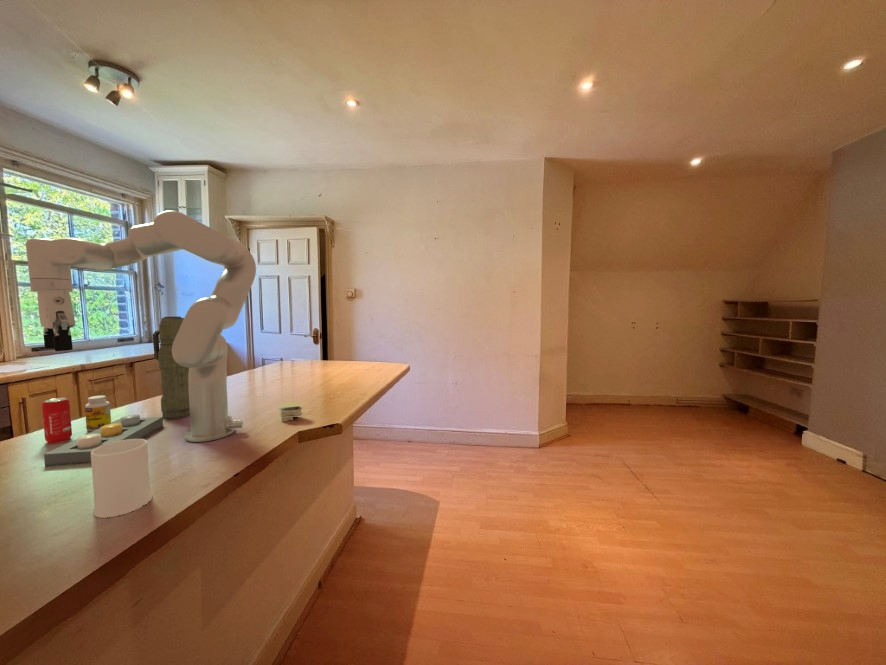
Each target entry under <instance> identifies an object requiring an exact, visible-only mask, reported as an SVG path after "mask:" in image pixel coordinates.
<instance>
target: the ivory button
mask: <svg viewBox="0 0 886 665" xmlns="http://www.w3.org/2000/svg"><path fill="white" fill-rule="evenodd" d="M76 439H77V448H78V449H80V448H94V447H96V446H98V445H100V444H102V441H101V434H89V435H86V434H85V435H82V436H79V437H77V438H76Z"/></svg>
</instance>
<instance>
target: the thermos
mask: <svg viewBox="0 0 886 665" xmlns="http://www.w3.org/2000/svg"><path fill="white" fill-rule="evenodd" d="M184 318H185V317H181V316H163V317H162V318H160V322H159V325H158V330H155V331H154V332H153V333H152V341H153V342H152V343H153V353H154V356H153V357H154V359H155V360H157V361H158V368H159V369H160V373H161V374H160V375H161V389H162V390H161V392H162V395H161V398H160V407H161V408H160V409H161V410H160V411H161V412H162V416H161V417H163V420H176V419H177V420H178V419H183V418H187V417H190V405H189V383H188V375H189V368H187V367H183V366H181V365H179V364H178V363H177V362H176V361H175V360H174V358H173V356H172V345H173V342H174V340H175V337H176V335H177V333H178V331H179V329H180V326H181V324H182V322H183V320H184Z"/></svg>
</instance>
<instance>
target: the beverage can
mask: <svg viewBox="0 0 886 665" xmlns="http://www.w3.org/2000/svg"><path fill="white" fill-rule="evenodd" d="M41 408H42V410H41V411H42V419H43V432H44V434H43V435H44V440H45V441H46V442H47V444H49V445H52V444H59V443H63V442H67V441H69V440H70V439H71V437H72V435H73V430H72V417H71V415H72V414H71V404H70V400H69V398H68V397H56V398H55V397H54V398H50V399H46V400H43V401H42V404H41Z"/></svg>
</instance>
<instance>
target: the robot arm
mask: <svg viewBox="0 0 886 665" xmlns="http://www.w3.org/2000/svg"><path fill="white" fill-rule="evenodd" d="M181 250H184V251H186V252H188V253H191V254H193V255H195V256H197V257H199V258H201V259H204V260H205V261H207V262H210V263H213V264H217V265H219V266H220V265H221V266H223V267H224V270H223V272H222V274H221V275H220V277H219V278H218V280H217V282H216V283H215V286H214V289H213V291H212V292H211V294H210V296H207V297H206V296H205V297H202V298H199V299H197V300H196V301H195V302H193V303H192V304H191V305H190V307H189V308H188V310H186V314H185V316H184V317H183V318H184V320H183V322H182V324H181V326H180V329H179V331H178V333H177V335H176V337H175V340H174V342H173V345H172V356H173V358H174V360H175V361H176V362H177V363H178V364H179V365H181V366H183V367H187V368H189V375H188V383H189V405H190V416H189V422H190V424H189V425H190V430H188V431H186V432H185V434H184V440H185V441H187V442H190V443H191V442H193V443H199V442H200V443H201V442H210V441H215V440H218V439H223V438H225V437H228V436H229V435H231V434H233V433H234V432H235V429H241V428H243V427H244V422H243V420H242V419H236V420H234V419H232V418H233V416H232V415H229V408H228V407H229V405H228V403H229V402H228V381H227V380H228V378H227V377H228V376H227V374H228V373H227V372H228V371H227V367H228V366H227V364H228V353H229V351H228V350H229V347H228V346H229V345H228V342H227V340H226V338H225V337H224V336H223V335H222V332H223V330H226V329H229V328H232V326H234V325H235V324H236V323H237V321H238V319H239V316H240V314H241V311H242V309H243V307H244V304H245V302H246V299H247V297H248V296H249V292H250V291H251V288H252V285H253V284H254V281H255V277H256V275H257V263H256V261H255V258H254V257H253V256H254V255H253V254H252V253H251V252H250V251H249V249H248V248H247V247H246V246H245V245H244V244H242V242H240V241H238V240H236V239H235V238H233V237H231V236H229V235H226V234H225V233H222V232H221V231H219V230H217V229H214V228H212V227H210V226H208V225H206V224H203V223H202V222H200V221H198V220H196V219H194V218H193V217H191V216H189V215H187V214H184V212H180V211H178V210H172V209H171V210H169V209H168V210H165V211H164V210H163V211H162V212H159V213H157V215H155V217H154V219H153V221H152V222H150V223H148V222H147V223H143V224H138V225H133V226H131V227H130V228H129V230H128V236H127V237H125V238H121V239H118V240H114V241H110V242H102V243H100V242H99V243H98V242H94V241H91V240H86V239H82V238H77V237H65V238H56V239H51V238H40V237H39V238H36V237H35V238H29V239H27V240H26V242H25V251H26V258H27V267H28V276H29V286H30V292H37V306H38V315H39V316H38V318H39V321H40V322H39V323H40V326H41V327H42V328H43V343H44V349H45V350H50V349H51V350H52V349H54V352H65V351H72V350H73V340H72V333H71V332H72V331H71V329H72V328H75V327H76V320H75V314H74V308H73V301H72V297H71V293H73V292H74V291H73V290H74V288H73V279H72V268H71V267H73V268H75V267H76V268H81V269H91V270H99V271H101V270H102V271H103V270H104V271H106V270H112V269H117V268H120V267H121V268H122V267H126V266H130V265H134V264H137V263H140V262H142V261H144V260H146V259H148V258H149V257H154V256H157V255H162V254H168V253H173V252H176V251H181Z"/></svg>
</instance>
